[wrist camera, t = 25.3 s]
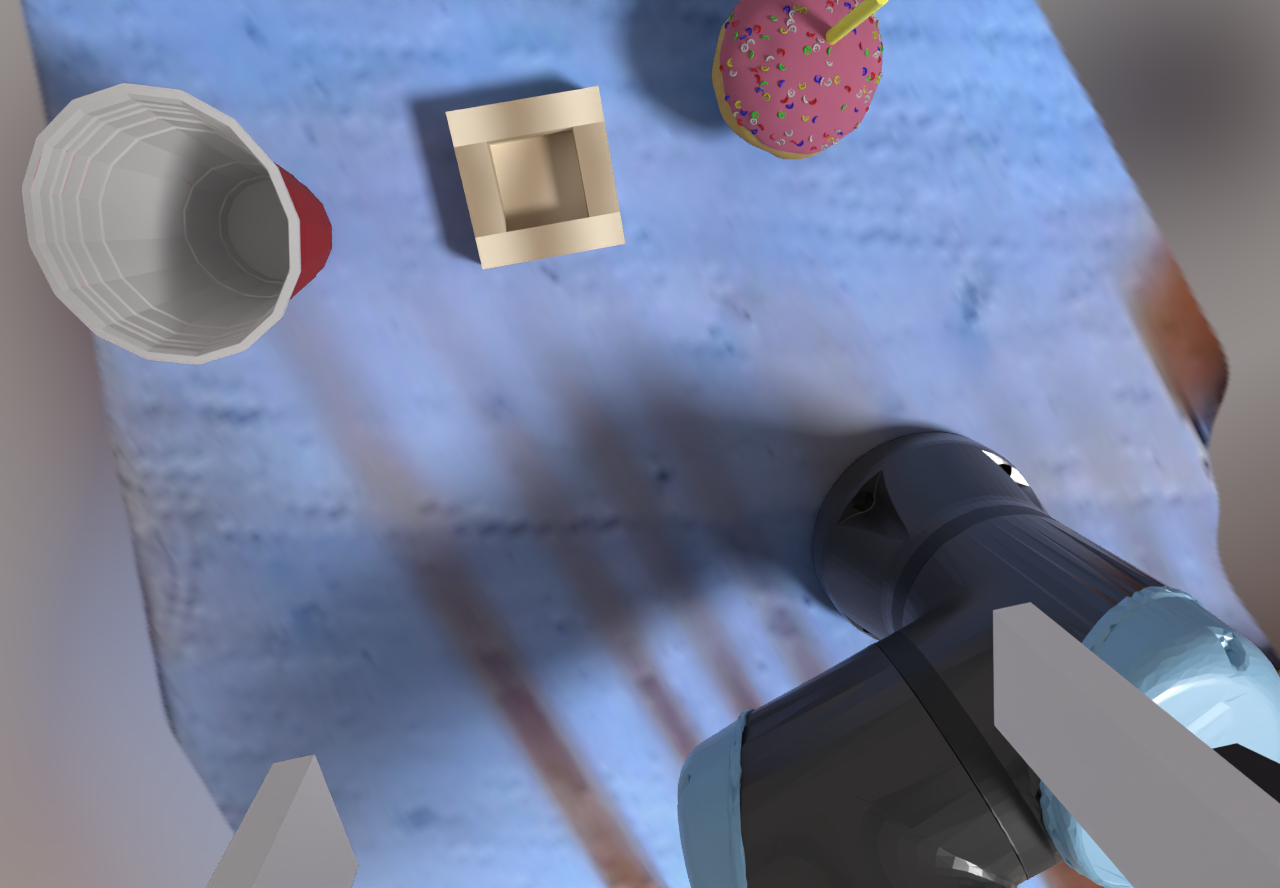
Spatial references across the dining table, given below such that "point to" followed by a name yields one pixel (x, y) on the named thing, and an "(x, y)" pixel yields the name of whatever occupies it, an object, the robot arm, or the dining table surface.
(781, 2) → the cupcake
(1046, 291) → the dining table surface
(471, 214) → the marker stand
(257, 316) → the plastic cup
